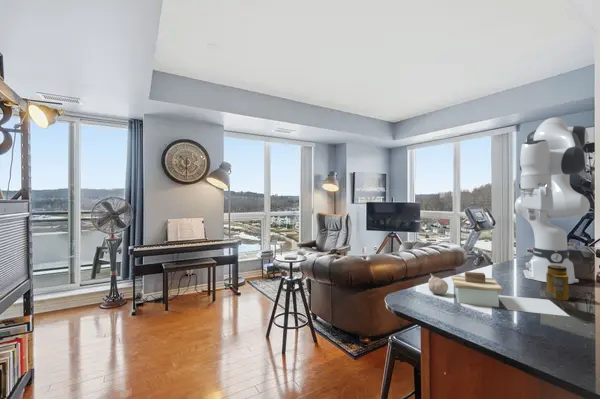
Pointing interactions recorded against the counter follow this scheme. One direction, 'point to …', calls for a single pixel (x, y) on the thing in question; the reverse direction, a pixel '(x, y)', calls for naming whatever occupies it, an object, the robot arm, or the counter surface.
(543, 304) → the white square tile
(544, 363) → the counter surface
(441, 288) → the garlic bulb
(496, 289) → the oak cover
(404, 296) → the counter surface
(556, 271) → the condiment
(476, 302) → the mint green open box
